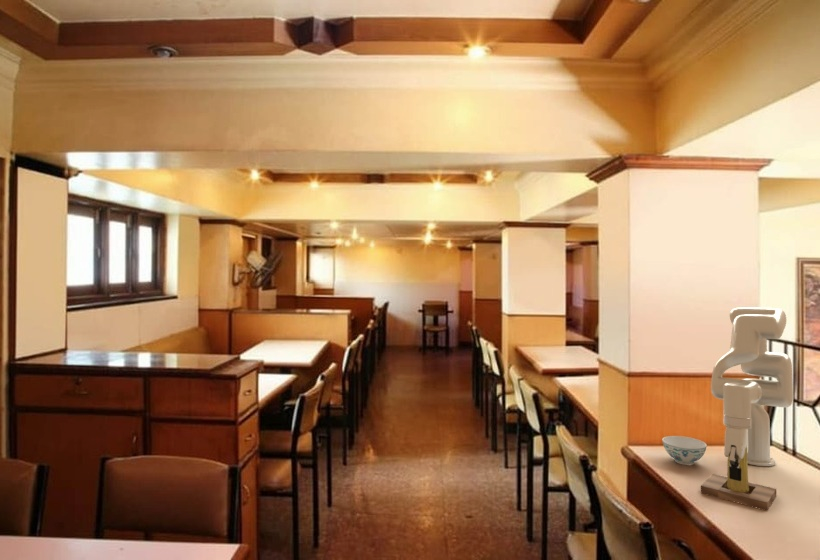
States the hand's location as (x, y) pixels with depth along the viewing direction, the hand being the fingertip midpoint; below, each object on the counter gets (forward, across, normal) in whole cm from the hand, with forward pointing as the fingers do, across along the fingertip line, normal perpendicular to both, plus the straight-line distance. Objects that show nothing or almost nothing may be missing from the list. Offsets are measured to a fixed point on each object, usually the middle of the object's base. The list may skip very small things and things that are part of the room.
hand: (737, 476), depth 160 cm
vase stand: (+6, 0, 0) cm, 6 cm away
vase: (+4, 0, 0) cm, 4 cm away
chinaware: (+6, -20, -22) cm, 30 cm away
